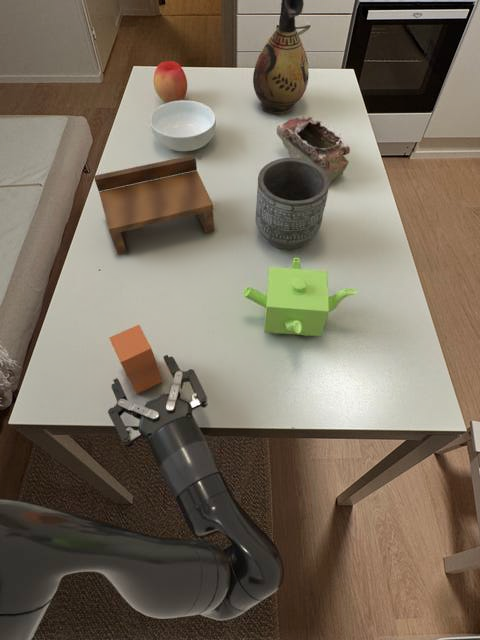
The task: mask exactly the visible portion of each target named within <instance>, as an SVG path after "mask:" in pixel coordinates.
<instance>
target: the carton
mask: <svg viewBox="0 0 480 640" xmlns="http://www.w3.org/2000/svg"><path fill="white" fill-rule="evenodd" d="M108 339H109V341H110V344H111V346H112V348H113V350H114V352H115V354H116V356H117V358H118V360H119V361H118V362H119V363H120V365H121V366H122V368H123V371H124V372H125V374H126V376H127V379H128V380H129V382H130V384H131V386H132V389H133V390H134V393H135V394H136V395H138V394H140V393H143V392H145V391H147V390H148V389H150V388H152V387H154V386H157V385H158V384H160V383H162V382H163V378H162V375H161V372H160V369H159V367H158V363H157V360H156V358H155V354H154V352H153V349H152V346H151V345H150V343H149V341H148V339H147V337H146V335H145V333H144V332H143V330H142V327H141V325H140V324H137V325H134V326H132V327H130V328H128V329H125V330H123V331H121V332H119V333H117V334H114V335H112V336H110V337H108Z"/></svg>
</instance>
